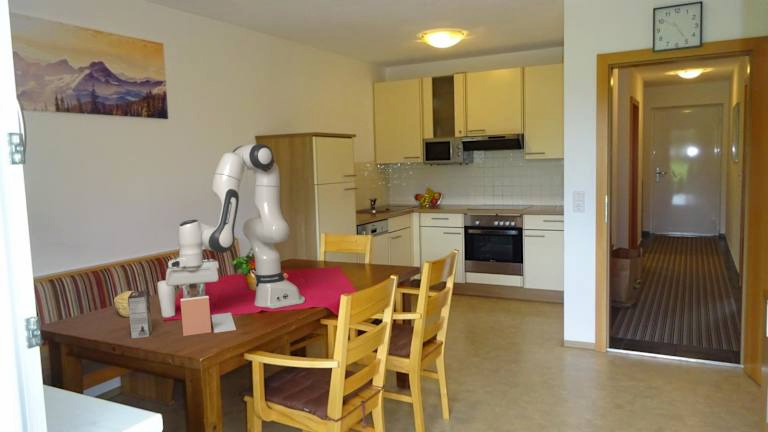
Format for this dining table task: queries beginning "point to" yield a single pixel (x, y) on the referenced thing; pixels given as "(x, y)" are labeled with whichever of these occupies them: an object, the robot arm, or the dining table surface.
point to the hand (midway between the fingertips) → (193, 294)
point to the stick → (193, 290)
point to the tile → (195, 315)
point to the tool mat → (223, 322)
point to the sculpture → (123, 303)
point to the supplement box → (197, 288)
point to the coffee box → (140, 314)
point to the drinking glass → (166, 299)
